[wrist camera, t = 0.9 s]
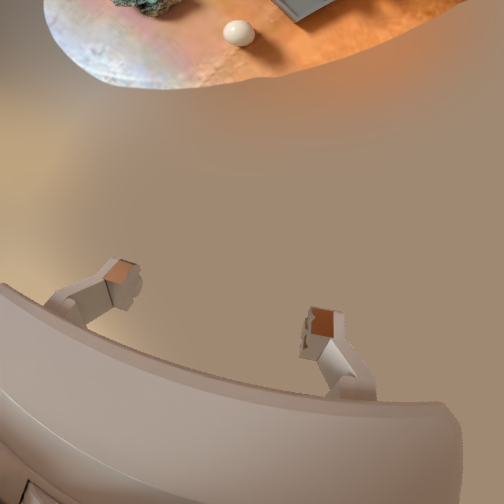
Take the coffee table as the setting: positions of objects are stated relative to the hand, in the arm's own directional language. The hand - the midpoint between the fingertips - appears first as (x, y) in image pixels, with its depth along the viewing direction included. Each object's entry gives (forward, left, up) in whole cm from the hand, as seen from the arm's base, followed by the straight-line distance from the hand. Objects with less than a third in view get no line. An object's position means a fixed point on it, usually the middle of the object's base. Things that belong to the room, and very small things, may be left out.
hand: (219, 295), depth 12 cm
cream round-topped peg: (-11, +7, -41) cm, 43 cm away
